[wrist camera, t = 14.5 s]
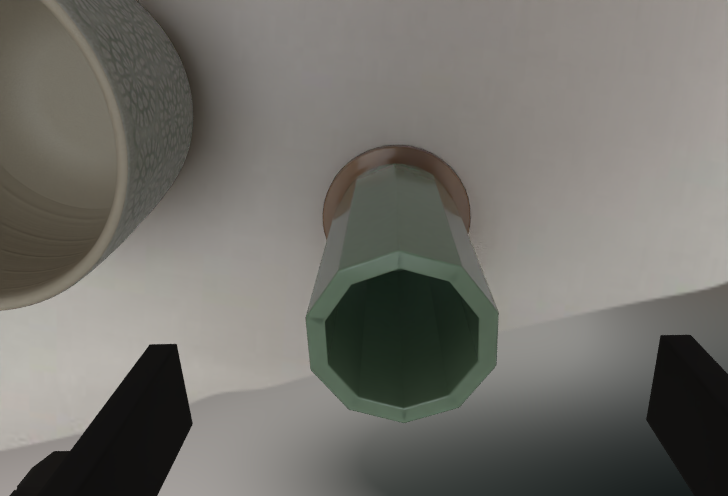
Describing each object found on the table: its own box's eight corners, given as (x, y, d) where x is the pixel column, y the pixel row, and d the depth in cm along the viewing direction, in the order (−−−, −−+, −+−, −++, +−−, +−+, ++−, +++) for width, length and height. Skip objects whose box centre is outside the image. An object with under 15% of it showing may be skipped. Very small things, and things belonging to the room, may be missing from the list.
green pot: (455, 157, 28) (502, 246, 16) (453, 274, 30) (494, 422, 19) (333, 162, 28) (299, 253, 17) (341, 277, 30) (315, 425, 19)
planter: (166, -80, 25) (15, -153, 15) (255, 185, 29) (186, 271, 19) (-79, -3, 26) (-369, -20, 16) (40, 238, 31) (-130, 343, 20)
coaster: (470, 141, 28) (472, 143, 27) (467, 281, 31) (469, 285, 30) (318, 147, 28) (316, 150, 28) (328, 285, 31) (327, 289, 31)
